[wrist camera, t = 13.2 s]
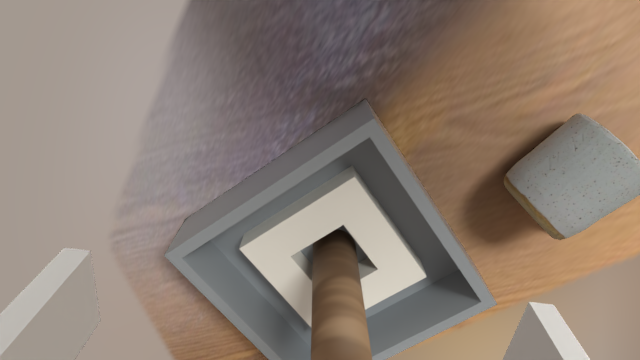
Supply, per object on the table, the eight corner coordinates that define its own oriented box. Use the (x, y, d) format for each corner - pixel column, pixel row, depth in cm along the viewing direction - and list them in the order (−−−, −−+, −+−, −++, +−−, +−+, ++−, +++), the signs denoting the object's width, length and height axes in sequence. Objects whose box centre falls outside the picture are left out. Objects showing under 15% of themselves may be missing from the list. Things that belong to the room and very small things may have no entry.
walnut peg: (340, 221, 39) (351, 335, 26) (363, 251, 40) (384, 373, 27) (304, 242, 40) (298, 362, 27) (328, 271, 41) (333, 398, 28)
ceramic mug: (484, 168, 38) (523, 210, 31) (561, 101, 35) (623, 130, 28) (553, 236, 41) (602, 287, 34) (628, 178, 38) (699, 221, 31)
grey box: (365, 98, 35) (374, 118, 30) (473, 263, 42) (497, 304, 36) (185, 219, 40) (164, 255, 34) (308, 350, 46) (307, 398, 41)
